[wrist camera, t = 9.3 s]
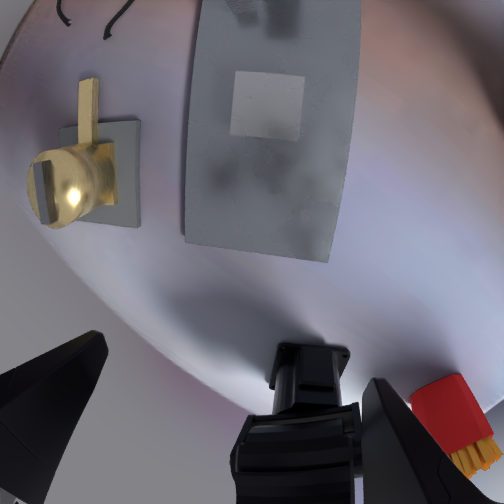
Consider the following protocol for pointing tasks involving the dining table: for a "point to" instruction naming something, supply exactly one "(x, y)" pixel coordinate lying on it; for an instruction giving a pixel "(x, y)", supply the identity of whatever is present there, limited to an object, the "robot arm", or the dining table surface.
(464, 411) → the french fries
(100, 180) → the gold rounded piece
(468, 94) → the dining table surface
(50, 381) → the robot arm
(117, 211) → the mat
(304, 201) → the lock base
